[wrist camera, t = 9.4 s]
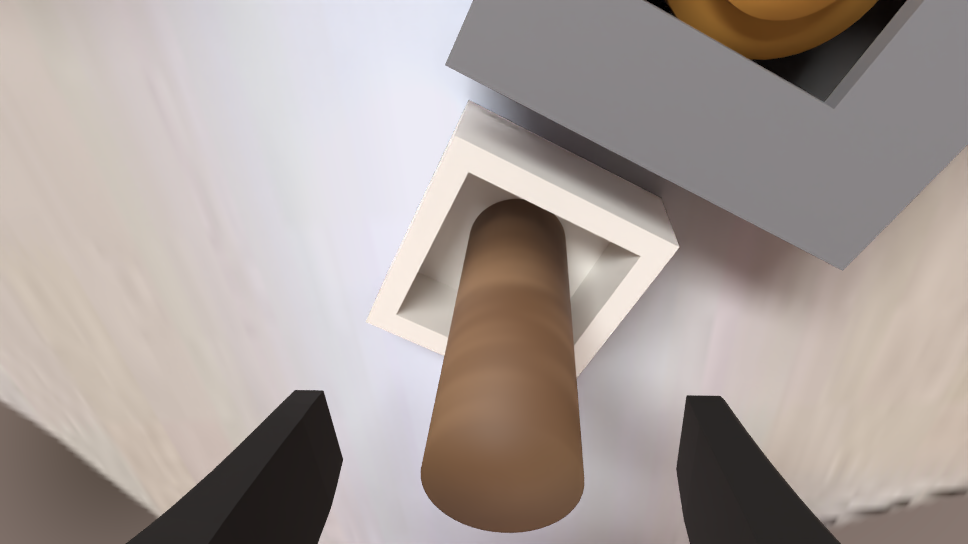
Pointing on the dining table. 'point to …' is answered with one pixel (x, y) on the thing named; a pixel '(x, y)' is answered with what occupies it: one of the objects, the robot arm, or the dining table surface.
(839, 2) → the button
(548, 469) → the brown wooden cylinder
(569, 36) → the box
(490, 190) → the box
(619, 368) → the dining table surface
